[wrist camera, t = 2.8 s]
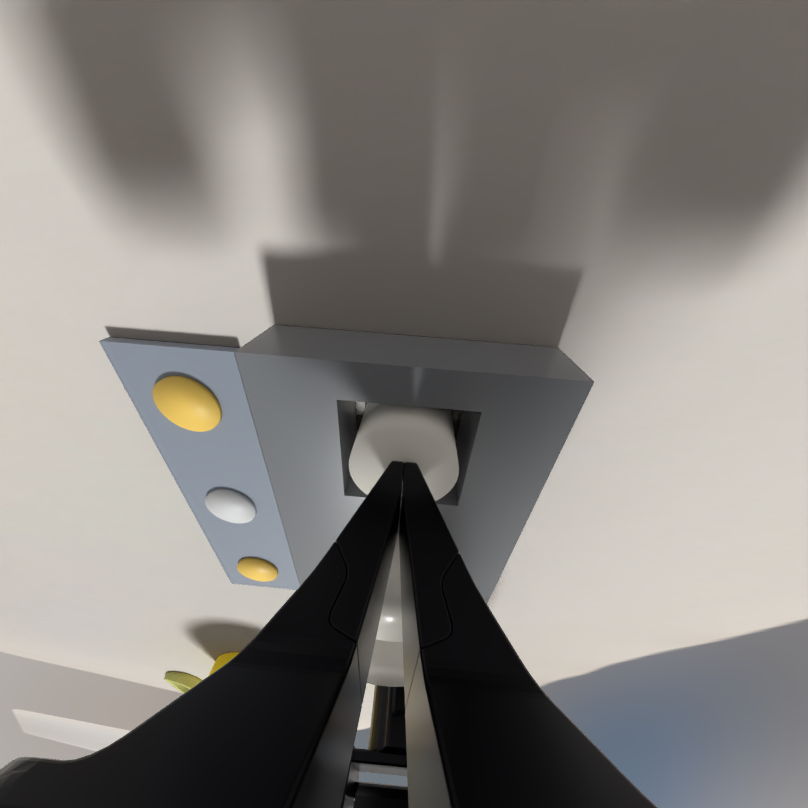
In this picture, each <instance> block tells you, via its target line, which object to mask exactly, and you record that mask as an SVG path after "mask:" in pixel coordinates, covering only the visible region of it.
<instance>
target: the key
mask: <svg viewBox="0 0 808 808" xmlns="http://www.w3.org/2000/svg"><path fill="white" fill-rule="evenodd" d="M164 679H165V680H166V681H167V682H168V683H169V684H171V685H172V686H173V687H175V688H176V689H177V690H179V691H180V692H182V693H186V692H187V691H188V690H190V689H191V688H193V687H194V686H196V685H197V684H198V683H200V682H201V681H203V680H201V679H199V678H197V677H195V676H193V675H189V674H186V673H180V672H168V673H166V675H165V678H164Z"/></svg>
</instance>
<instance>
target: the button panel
mask: <svg viewBox="0 0 808 808" xmlns="http://www.w3.org/2000/svg"><path fill="white" fill-rule="evenodd" d="M235 356H236V359H237V363H238V367H239V370H240V374H241V377H242V381H243V384H244V388H245V391H246V395H247V398H248V402H249V406H250V409H251V413H252V416H253V420H254V423H255V427H256V430H257V434H258V437H259V441H260V444H261V448H262V452H263V455H264V459H265V462H266V466H267V469H268V473H269V476H270V480H271V483H272V487H273V491H274V494H275V498H276V501H277V505H278V508H279V512H280V515H281V519H282V522H283V526H284V530H285V533H286V537H287V540H288V544H289V547H290V551H291V554H292V558H293V561H294V565H295V569H296V572H297V576H298V579H299V583H300V586H301V584H302V583H303V582H304V581H305V580H306V579H307V577H308V576H309V575H310V574H311V573H312V571H313V570H314V569H315V568H316V566H317V565H318V564H319V562H320V561H321V560H322V558H323V557H324V556H325V554H326V553H327V551H328V550H329V549H330V547H331V546H332V544H333V543H334V542H336V539H337V538H338V536H339V535H340V533H341V532H342V530H343V529H344V528H345V526H346V525H347V523H348V522H349V521H350V519H351V518H352V516H353V515H354V513H355V512H356V511H357V509H358V508H359V506H360V505H361V504H362V502H363V501H364V499H365V498H366V496H367V494H365V493H364V492H363V491H361V490H360V489H359V487H358V486H357V485H356V484H355V482H354V481H353V479H352V477H351V475H350V471H349V458H350V454H351V451H352V448H353V445H354V442H355V439H356V436H357V432H356V406H355V401H358V402H370V403H382V404H393V405H405V406H417V407H429V408H440V409H452V410H463V413H462V417H461V422H460V427H459V432H458V436H457V441H456V449H457V457H458V464H459V475H458V479H457V481H456V483H455V485H454V487H453V488H452V489H451V490H450V491H449V492H448V493H447V494H446V495H445V496H443V497H442V498H440V499H439V500H437V501H435V502H436V504H437V506H438V508H439V510H440V512H441V515H442V517H443V519H444V521H445V523H446V525H447V527H448V529H449V531H450V534H451V536H452V538H453V540H454V542H455V544H456V546H457V548H458V550H459V554H460V555H461V556H462V559H463V561H464V563H465V565H466V567H467V569H468V571H469V573H470V575H471V577H472V579H473V581H474V583H475V585H476V587H477V588H478V590H479V592H480V593H481V595H482V597H483V599H484V600H485V602H486V604H487V602H488V600H489V598H490V596H491V594H492V592H493V590H494V588H495V586H496V584H497V582H498V580H499V578H500V576H501V574H502V571H503V569H504V567H505V565H506V563H507V561H508V559H509V557H510V555H511V553H512V551H513V549H514V547H515V545H516V542H517V540H518V538H519V536H520V534H521V532H522V530H523V528H524V526H525V524H526V522H527V520H528V518H529V516H530V514H531V511H532V509H533V507H534V505H535V503H536V501H537V499H538V497H539V495H540V493H541V491H542V489H543V487H544V485H545V482H546V480H547V478H548V476H549V474H550V472H551V470H552V468H553V466H554V464H555V462H556V460H557V458H558V456H559V454H560V451H561V449H562V447H563V445H564V443H565V441H566V439H567V437H568V435H569V433H570V431H571V429H572V427H573V425H574V422H575V420H576V418H577V416H578V414H579V412H580V410H581V408H582V406H583V404H584V402H585V400H586V398H587V396H588V394H589V391H590V389H591V387H592V385H593V383H594V381H593V380H592V379H591V378H590V377H589V376H588V375H587V374H586V373H584V372H583V371H582V370H581V369H580V368H579V367H578V366H577V365H576V364H575V363H574V362H573V361H572V360H571V359H570V358H569V357H568V356H567V355H566V354H565V353H563V352H562V351H561V350H560V349H559V348H558V347H545V346H533V345H520V344H508V343H495V342H483V341H471V340H458V339H446V338H433V337H421V336H408V335H396V334H384V333H371V332H359V331H346V330H334V329H321V328H309V327H297V326H284V325H273V326H272V327H270V328H269V329H267V330H266V331H264V332H263V333H261V334H260V335H258V336H257V337H256V338H254V339H253V340H251V341H250V342H248V343H247V344H245V345H244V346H242V347H241V348H240V349H238V350H237V351H235ZM400 509H401V507H400ZM399 521H400V519H399ZM398 533H399V528H398Z"/></svg>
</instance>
